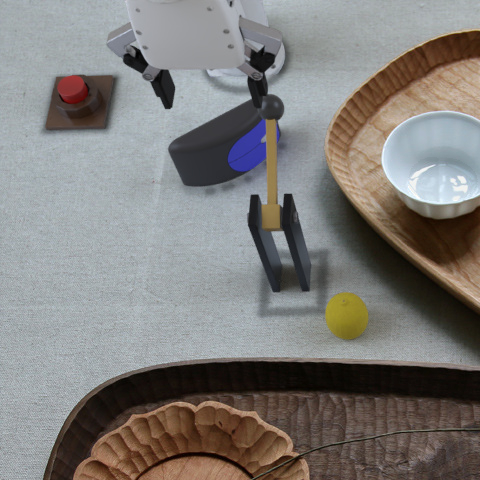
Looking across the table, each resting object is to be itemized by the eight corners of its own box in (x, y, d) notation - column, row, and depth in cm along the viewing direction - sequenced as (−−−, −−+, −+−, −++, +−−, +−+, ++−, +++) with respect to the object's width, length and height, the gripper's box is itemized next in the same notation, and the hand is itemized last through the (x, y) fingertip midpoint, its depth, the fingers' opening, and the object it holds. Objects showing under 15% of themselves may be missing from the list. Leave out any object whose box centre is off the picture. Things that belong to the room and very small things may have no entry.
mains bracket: (267, 255, 113) (239, 178, 97) (324, 254, 113) (305, 177, 97) (262, 312, 109) (233, 242, 94) (321, 311, 109) (301, 240, 94)
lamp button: (64, 84, 124) (59, 75, 122) (90, 83, 124) (85, 74, 122) (60, 104, 122) (55, 96, 121) (86, 103, 122) (81, 95, 121)
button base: (58, 79, 127) (51, 67, 125) (114, 78, 127) (108, 66, 124) (46, 130, 123) (39, 118, 121) (104, 129, 123) (98, 117, 121)
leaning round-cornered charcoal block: (197, 206, 117) (178, 163, 108) (182, 185, 118) (162, 141, 109) (294, 153, 119) (282, 107, 111) (278, 133, 121) (266, 86, 112)
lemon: (340, 356, 106) (333, 327, 99) (322, 323, 108) (314, 293, 101) (378, 338, 107) (373, 308, 100) (359, 305, 109) (353, 274, 102)
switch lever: (260, 99, 98) (254, 90, 95) (286, 98, 98) (281, 89, 95) (262, 232, 99) (256, 227, 96) (288, 231, 99) (283, 227, 96)
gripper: (267, -75, 72) (298, 70, 88) (75, -71, 73) (140, 72, 88) (259, -12, 69) (292, 126, 85) (60, -9, 70) (130, 127, 86)
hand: (215, 98), depth 87 cm, fingers open, 9 cm apart
